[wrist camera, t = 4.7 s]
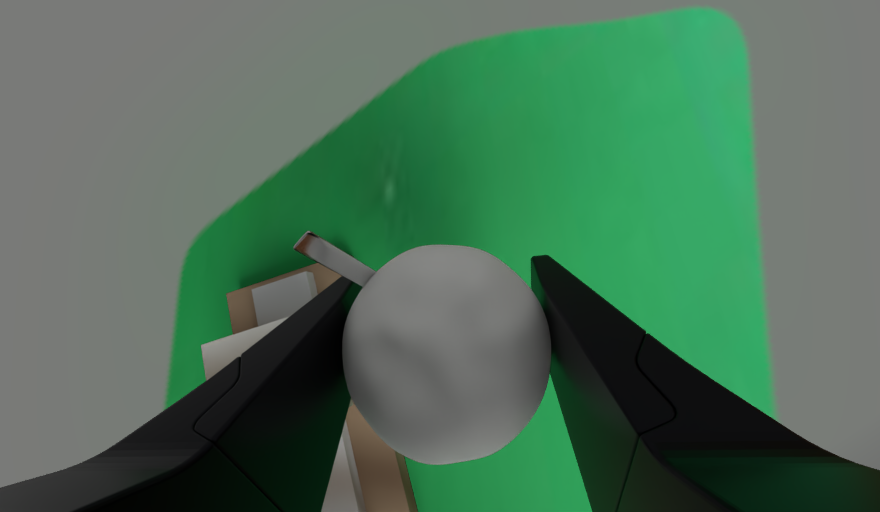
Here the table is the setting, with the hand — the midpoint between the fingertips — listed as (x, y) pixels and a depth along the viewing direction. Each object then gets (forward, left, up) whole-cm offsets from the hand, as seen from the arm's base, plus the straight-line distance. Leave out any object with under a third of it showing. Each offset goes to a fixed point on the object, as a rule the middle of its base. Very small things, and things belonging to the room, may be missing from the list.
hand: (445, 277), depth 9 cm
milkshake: (-1, 0, -7) cm, 7 cm away
